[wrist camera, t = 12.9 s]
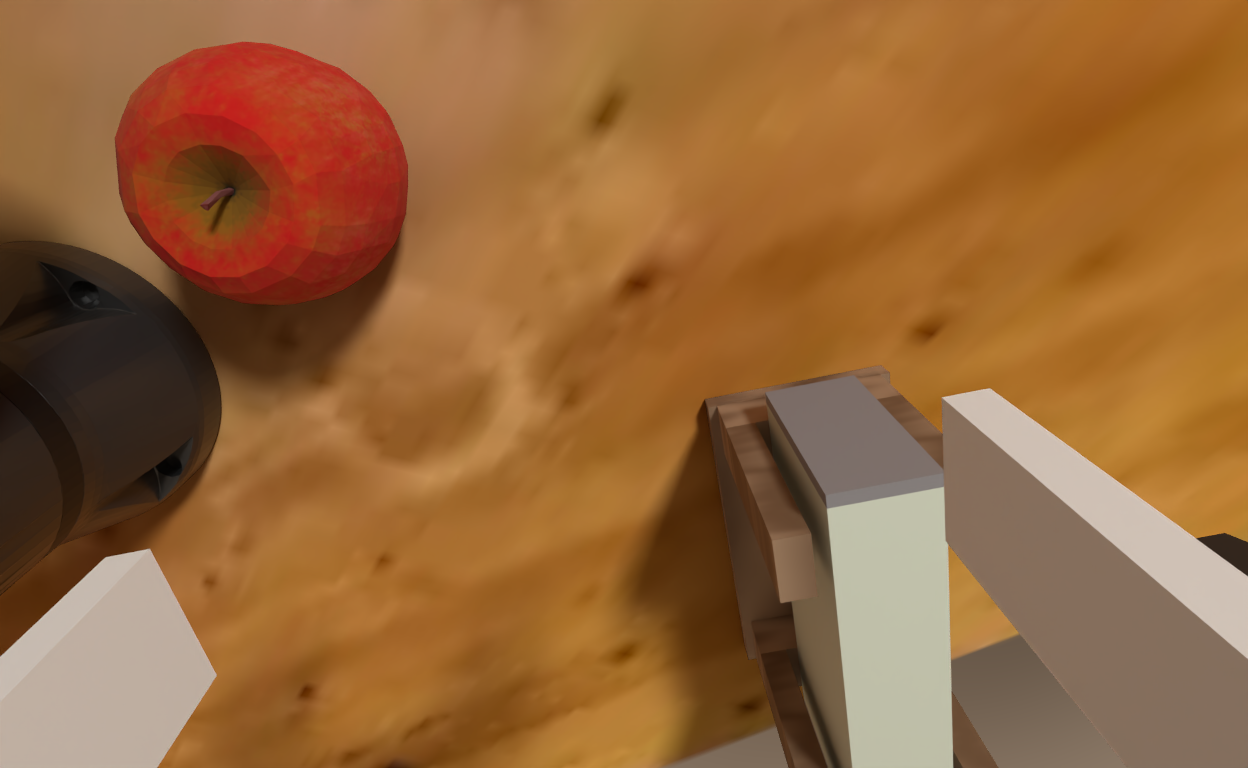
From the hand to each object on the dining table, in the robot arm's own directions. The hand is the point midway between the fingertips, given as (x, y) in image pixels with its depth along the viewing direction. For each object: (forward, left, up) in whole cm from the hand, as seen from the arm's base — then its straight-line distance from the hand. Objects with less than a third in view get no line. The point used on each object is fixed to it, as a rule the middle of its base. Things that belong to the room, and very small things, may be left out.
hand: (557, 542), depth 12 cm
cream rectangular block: (+10, -19, -23) cm, 31 cm away
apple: (-12, +6, -27) cm, 30 cm away
